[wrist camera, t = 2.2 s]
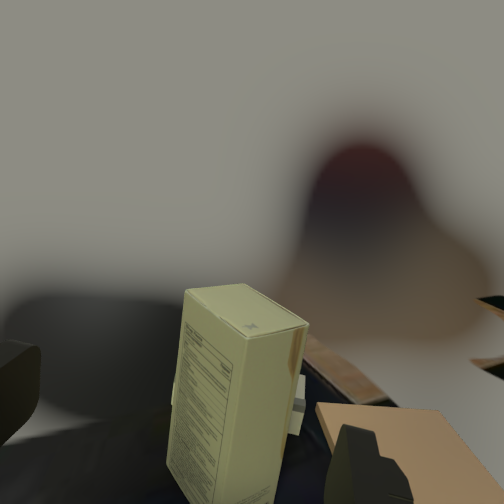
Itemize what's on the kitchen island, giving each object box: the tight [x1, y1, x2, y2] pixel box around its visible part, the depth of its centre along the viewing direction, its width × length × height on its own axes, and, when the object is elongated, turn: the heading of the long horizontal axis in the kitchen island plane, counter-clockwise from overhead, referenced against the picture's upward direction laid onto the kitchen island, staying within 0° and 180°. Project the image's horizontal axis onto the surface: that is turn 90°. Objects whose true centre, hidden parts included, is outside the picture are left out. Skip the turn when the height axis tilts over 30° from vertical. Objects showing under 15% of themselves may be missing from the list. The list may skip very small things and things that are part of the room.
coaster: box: [315, 402, 504, 504], centre depth 29 cm, size 11×11×1 cm
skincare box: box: [166, 283, 309, 504], centre depth 23 cm, size 6×4×12 cm
